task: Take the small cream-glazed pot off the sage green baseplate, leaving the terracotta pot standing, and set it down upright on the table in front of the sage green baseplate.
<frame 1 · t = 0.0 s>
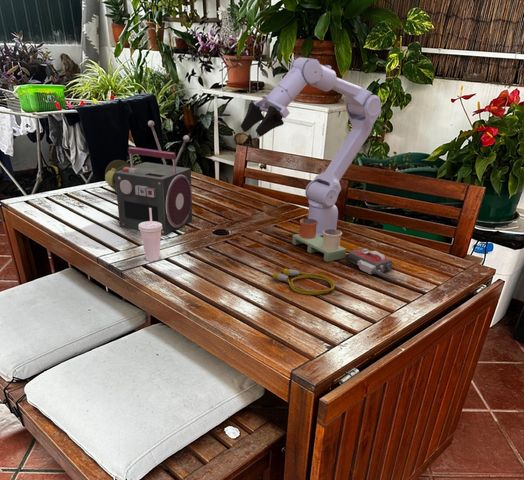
hand: (250, 131, 140), 32 cm above the table, tool tilted 50°, fingers open, 7 cm apart
sage green baseplate: (317, 250, 156), on the table
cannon: (139, 192, 202), on the table
smoothie: (152, 259, 144), on the table
boombox: (157, 223, 171), on the table
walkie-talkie: (374, 270, 144), on the table
extension cord: (305, 284, 135), on the table
cream pot: (330, 247, 150), point 3 cm above the table, touching sage green baseplate
terracotta pot: (307, 236, 158), point 3 cm above the table, touching sage green baseplate
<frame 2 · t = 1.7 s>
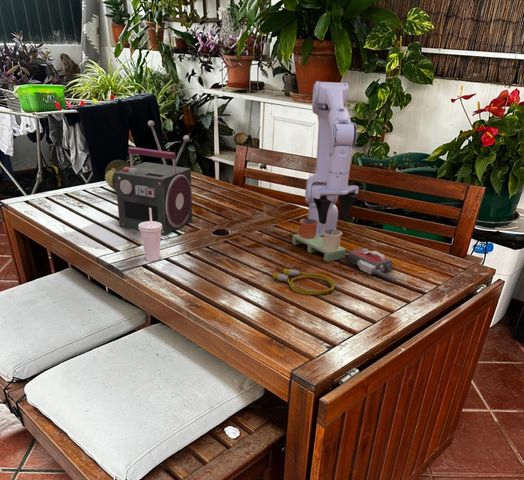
hand: (332, 221, 146), 11 cm above the table, tool pointing down, fingers open, 7 cm apart
nothing on the table moved.
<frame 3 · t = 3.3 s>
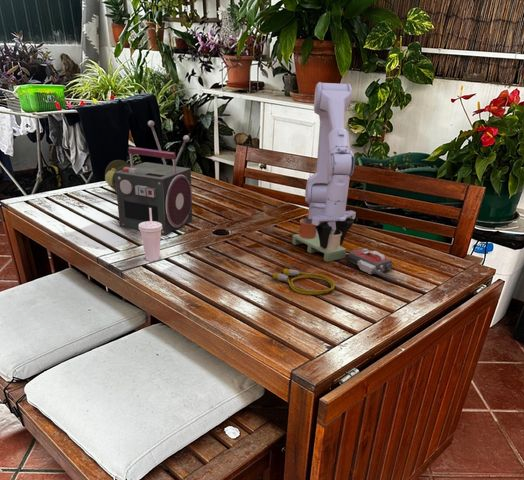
hand: (330, 245, 150), 3 cm above the table, tool pointing down, fingers closed on cream pot, 5 cm apart
cream pot: (330, 247, 150), point 3 cm above the table, touching gripper, sage green baseplate
everything else where it was.
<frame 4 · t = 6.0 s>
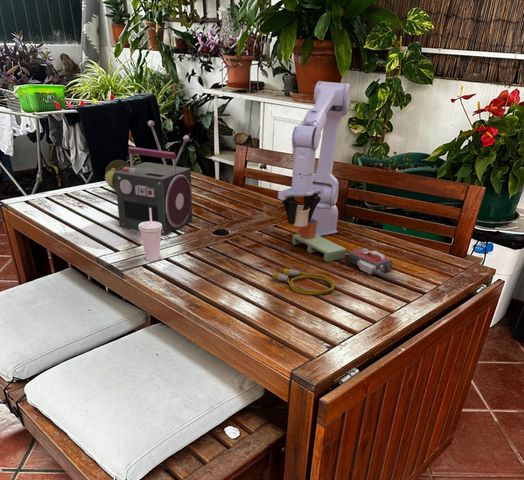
hand: (298, 222, 147), 10 cm above the table, tool pointing down, fingers closed on cream pot, 5 cm apart
cream pot: (299, 223, 147), point 9 cm above the table, touching gripper
everything else where it was.
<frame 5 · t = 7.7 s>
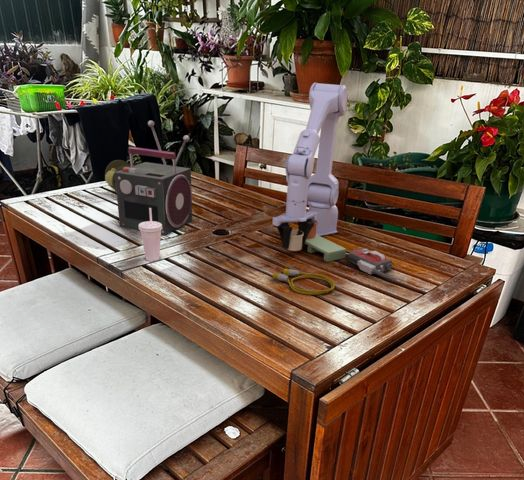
hand: (293, 246, 151), 2 cm above the table, tool pointing down, fingers closed on cream pot, 5 cm apart
cream pot: (293, 247, 151), point 2 cm above the table, touching gripper
everything else where it was.
when the fingers open (0 cm above the table, at t = 8.9 s): cream pot stays where it is, on the table.
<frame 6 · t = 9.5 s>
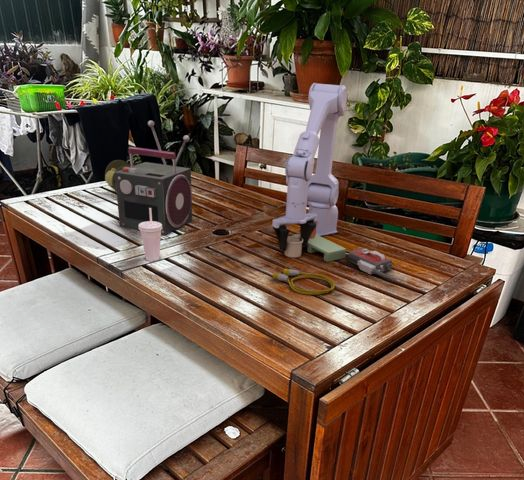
hand: (293, 248, 151), 2 cm above the table, tool pointing down, fingers open, 7 cm apart
cream pot: (292, 254, 152), on the table
everything else where it was.
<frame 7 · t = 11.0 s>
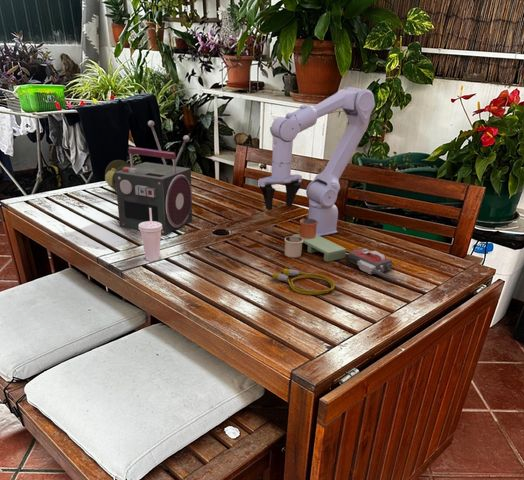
hand: (278, 207, 159), 9 cm above the table, tool pointing down, fingers open, 7 cm apart
nothing on the table moved.
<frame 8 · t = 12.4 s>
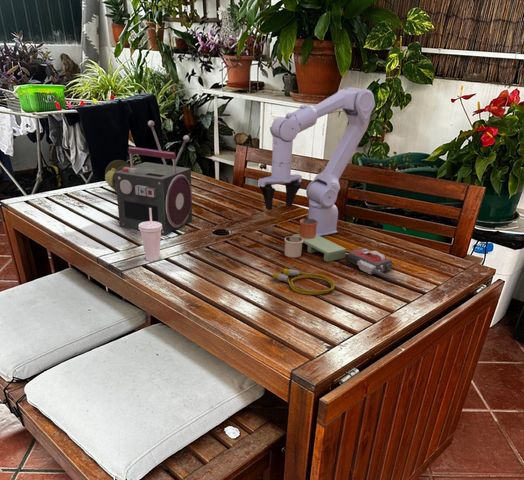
hand: (278, 207, 159), 9 cm above the table, tool pointing down, fingers open, 7 cm apart
nothing on the table moved.
at the end: cream pot inside the target area (0.2 cm from its centre), on the table; cream pot tilted 0°; terracotta pot moved 0.0 cm from its start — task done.
